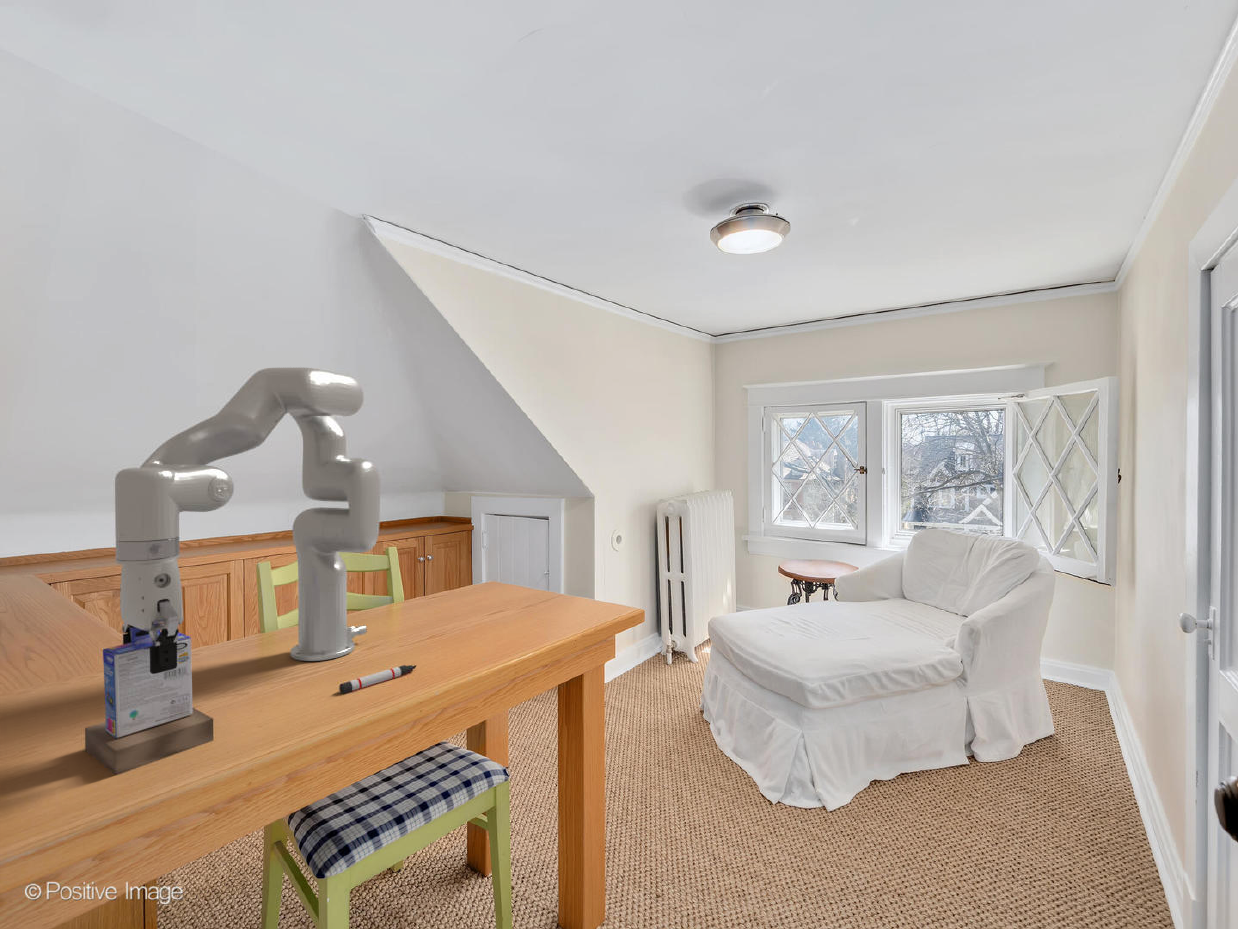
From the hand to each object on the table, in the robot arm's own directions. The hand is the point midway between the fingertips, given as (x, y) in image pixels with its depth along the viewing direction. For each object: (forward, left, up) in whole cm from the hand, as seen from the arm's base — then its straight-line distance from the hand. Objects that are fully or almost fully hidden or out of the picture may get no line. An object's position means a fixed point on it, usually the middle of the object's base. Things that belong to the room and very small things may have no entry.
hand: (149, 664), depth 91 cm
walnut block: (0, 0, -13) cm, 13 cm away
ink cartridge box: (0, 0, -9) cm, 9 cm away
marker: (-35, +7, -13) cm, 38 cm away
